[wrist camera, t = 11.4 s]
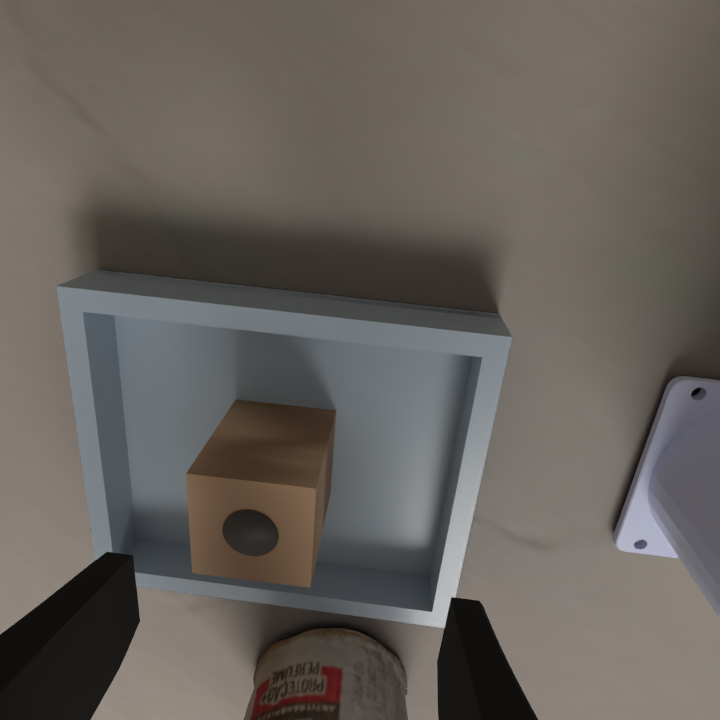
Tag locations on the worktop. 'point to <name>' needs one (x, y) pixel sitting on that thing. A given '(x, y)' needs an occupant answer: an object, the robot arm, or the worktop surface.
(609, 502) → the worktop surface
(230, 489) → the tan wooden block
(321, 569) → the slate tray
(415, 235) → the worktop surface
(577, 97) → the worktop surface
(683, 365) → the worktop surface
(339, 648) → the spray can
